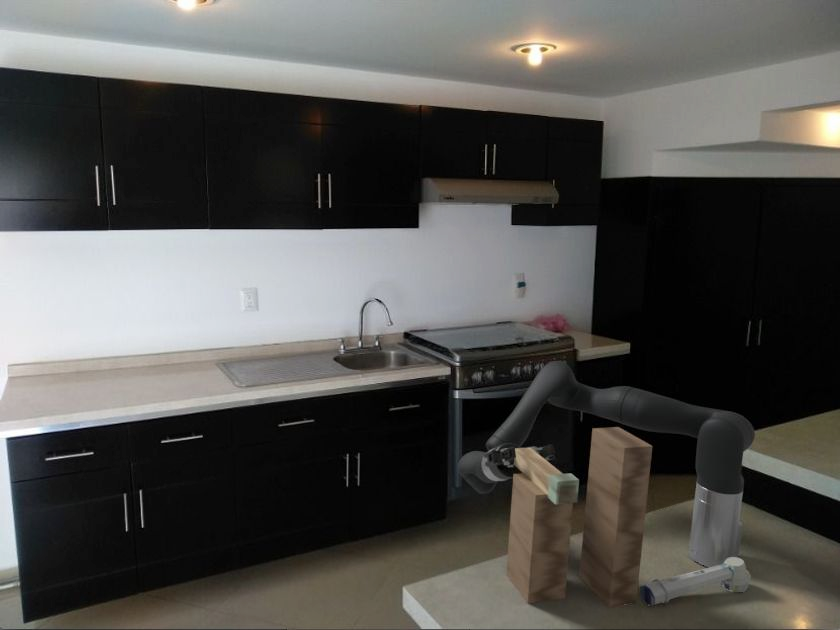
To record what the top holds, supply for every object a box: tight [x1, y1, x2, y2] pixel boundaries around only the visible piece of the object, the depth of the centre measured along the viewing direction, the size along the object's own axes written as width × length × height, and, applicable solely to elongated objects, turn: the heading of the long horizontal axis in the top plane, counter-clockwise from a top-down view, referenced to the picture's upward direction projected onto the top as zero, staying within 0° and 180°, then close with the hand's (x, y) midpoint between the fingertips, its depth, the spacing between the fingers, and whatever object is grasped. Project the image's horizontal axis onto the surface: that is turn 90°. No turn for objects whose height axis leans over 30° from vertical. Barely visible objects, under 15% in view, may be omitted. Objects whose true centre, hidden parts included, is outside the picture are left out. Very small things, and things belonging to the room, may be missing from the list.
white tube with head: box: [639, 557, 752, 607], centre depth 126 cm, size 5×7×25 cm
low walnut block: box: [505, 472, 574, 604], centre depth 124 cm, size 8×10×22 cm
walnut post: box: [578, 426, 653, 608], centre depth 124 cm, size 6×11×32 cm, turn 16°
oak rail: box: [514, 447, 580, 505], centre depth 123 cm, size 4×19×4 cm, turn 16°
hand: (533, 450), depth 127 cm, fingers open, 8 cm apart
